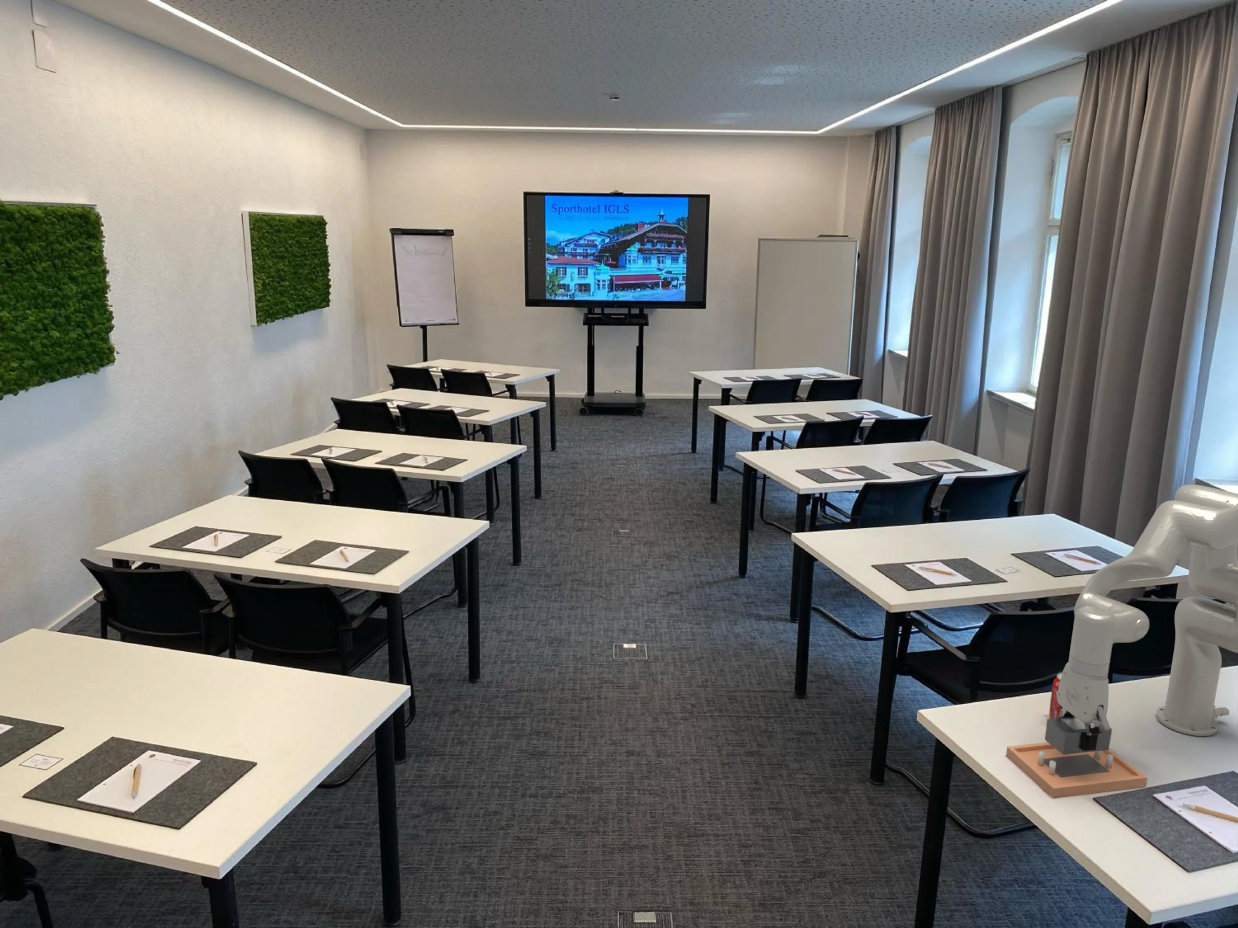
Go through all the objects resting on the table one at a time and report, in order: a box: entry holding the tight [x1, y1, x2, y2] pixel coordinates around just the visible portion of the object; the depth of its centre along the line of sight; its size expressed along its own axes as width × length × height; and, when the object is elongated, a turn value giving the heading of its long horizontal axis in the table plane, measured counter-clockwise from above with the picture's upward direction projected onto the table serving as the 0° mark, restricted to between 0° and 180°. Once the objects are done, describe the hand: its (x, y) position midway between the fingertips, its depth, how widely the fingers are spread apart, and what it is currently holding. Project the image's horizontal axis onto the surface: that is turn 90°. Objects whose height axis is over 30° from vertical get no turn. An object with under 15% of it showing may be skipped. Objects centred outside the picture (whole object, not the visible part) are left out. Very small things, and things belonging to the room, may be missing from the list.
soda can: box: [1048, 671, 1063, 719], centre depth 209 cm, size 7×7×12 cm
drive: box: [1044, 716, 1113, 755], centre depth 189 cm, size 11×6×5 cm, turn 100°
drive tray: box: [1005, 741, 1148, 799], centre depth 191 cm, size 22×16×4 cm
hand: (1077, 740), depth 189 cm, fingers closed on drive, 6 cm apart
